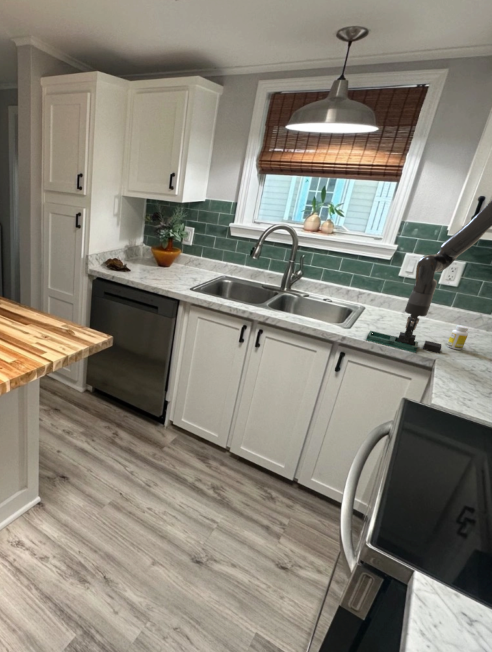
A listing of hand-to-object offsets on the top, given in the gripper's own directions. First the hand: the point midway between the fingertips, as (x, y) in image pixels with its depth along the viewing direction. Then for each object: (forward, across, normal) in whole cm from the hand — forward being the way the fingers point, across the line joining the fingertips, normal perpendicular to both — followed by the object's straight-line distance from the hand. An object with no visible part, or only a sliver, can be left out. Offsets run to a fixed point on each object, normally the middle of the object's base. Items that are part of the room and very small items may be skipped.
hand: (405, 340), depth 174 cm
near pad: (+1, 0, 0) cm, 1 cm away
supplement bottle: (+3, +18, -17) cm, 25 cm away
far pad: (+3, +5, -9) cm, 11 cm away
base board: (+3, 0, +5) cm, 6 cm away
